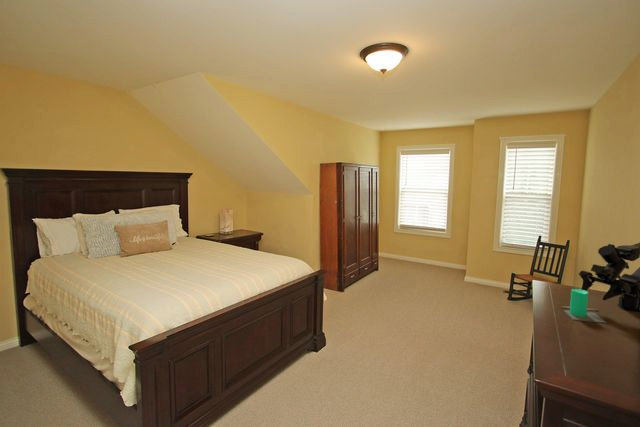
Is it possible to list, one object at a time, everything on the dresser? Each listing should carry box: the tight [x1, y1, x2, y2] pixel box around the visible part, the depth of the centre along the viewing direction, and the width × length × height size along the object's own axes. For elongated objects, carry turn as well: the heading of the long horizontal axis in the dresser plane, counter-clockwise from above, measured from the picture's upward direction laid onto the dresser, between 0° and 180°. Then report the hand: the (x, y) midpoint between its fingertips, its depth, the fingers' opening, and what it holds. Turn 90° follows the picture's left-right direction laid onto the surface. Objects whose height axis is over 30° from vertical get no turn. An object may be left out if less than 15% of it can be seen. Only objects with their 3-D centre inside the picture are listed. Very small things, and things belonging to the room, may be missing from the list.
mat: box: [562, 309, 607, 324], centre depth 146 cm, size 12×10×1 cm
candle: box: [569, 288, 589, 317], centre depth 147 cm, size 6×6×12 cm
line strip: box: [561, 305, 599, 312], centre depth 154 cm, size 14×2×1 cm, turn 73°
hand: (592, 296), depth 147 cm, fingers open, 9 cm apart
